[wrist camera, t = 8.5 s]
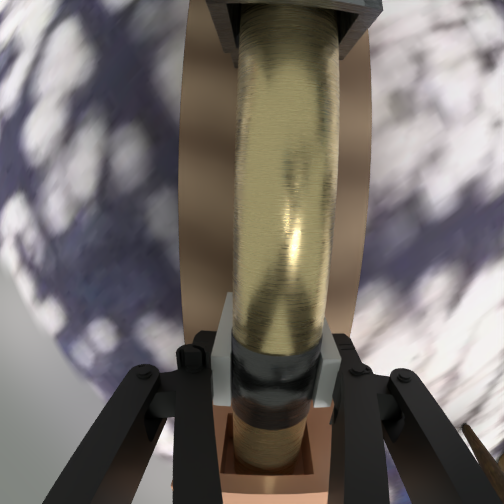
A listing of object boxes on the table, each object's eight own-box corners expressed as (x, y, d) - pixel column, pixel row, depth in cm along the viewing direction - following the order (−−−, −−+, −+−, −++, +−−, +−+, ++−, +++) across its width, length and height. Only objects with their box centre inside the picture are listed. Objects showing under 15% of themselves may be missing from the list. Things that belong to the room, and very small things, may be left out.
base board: (202, -63, 14) (201, -69, 13) (351, -55, 14) (354, -61, 13) (193, 395, 24) (191, 403, 23) (331, 399, 24) (333, 406, 23)
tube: (246, -37, 10) (241, -83, 6) (323, -32, 9) (337, -76, 6) (235, 441, 17) (230, 487, 13) (294, 442, 16) (298, 488, 13)
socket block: (205, 357, 22) (170, 485, 11) (325, 361, 22) (360, 487, 11) (208, 396, 23) (182, 516, 12) (318, 399, 23) (341, 518, 12)
